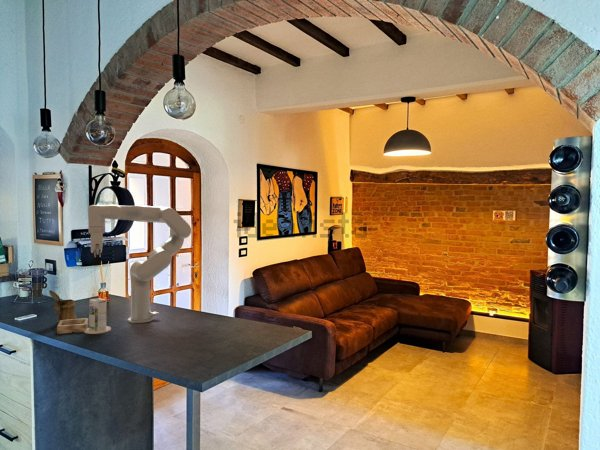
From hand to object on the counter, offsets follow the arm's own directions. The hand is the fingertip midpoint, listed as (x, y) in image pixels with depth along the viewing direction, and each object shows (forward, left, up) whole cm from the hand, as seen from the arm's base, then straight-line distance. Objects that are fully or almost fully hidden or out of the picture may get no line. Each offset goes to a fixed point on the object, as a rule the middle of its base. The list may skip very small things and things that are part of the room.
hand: (97, 264), depth 217 cm
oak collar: (+11, +3, -31) cm, 33 cm away
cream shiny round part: (0, +9, -31) cm, 32 cm away
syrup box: (-1, +9, -31) cm, 32 cm away
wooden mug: (+17, -11, -31) cm, 37 cm away
